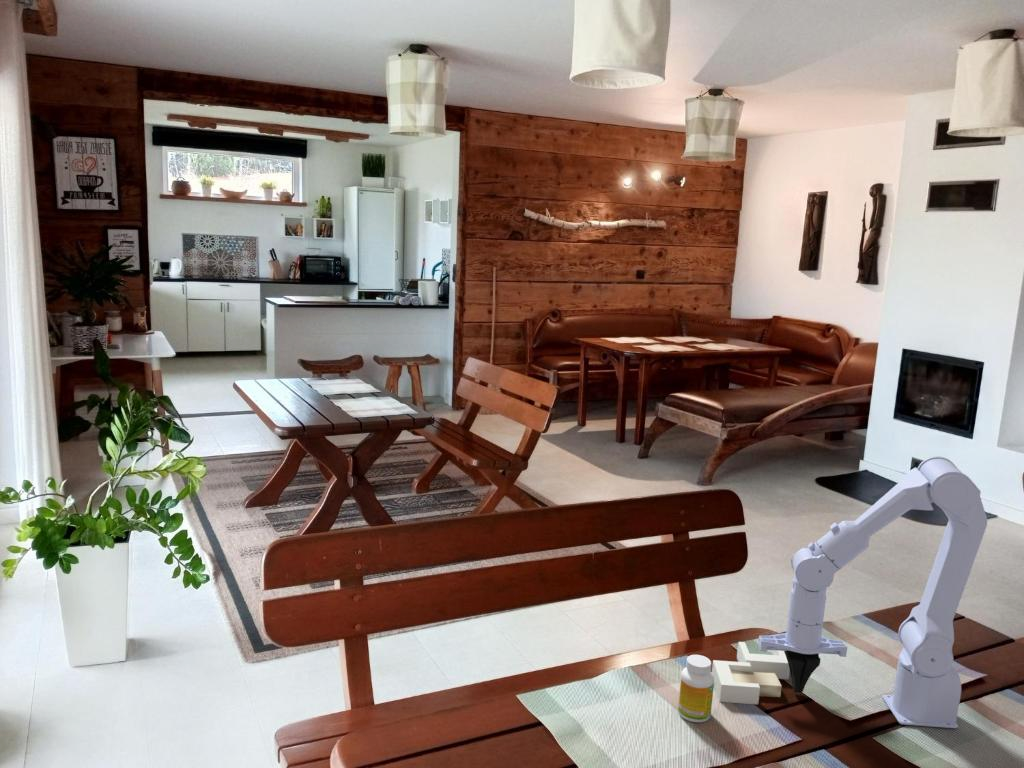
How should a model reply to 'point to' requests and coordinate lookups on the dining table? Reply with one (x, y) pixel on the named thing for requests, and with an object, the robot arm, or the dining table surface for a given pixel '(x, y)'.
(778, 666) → the white u-shaped block
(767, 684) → the beige rectangular block
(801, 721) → the dining table surface
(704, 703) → the supplement bottle
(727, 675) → the end cap
